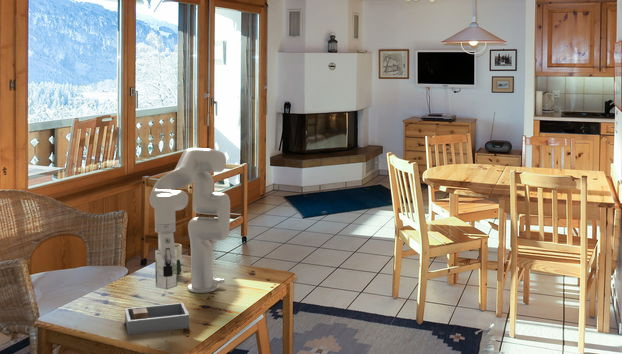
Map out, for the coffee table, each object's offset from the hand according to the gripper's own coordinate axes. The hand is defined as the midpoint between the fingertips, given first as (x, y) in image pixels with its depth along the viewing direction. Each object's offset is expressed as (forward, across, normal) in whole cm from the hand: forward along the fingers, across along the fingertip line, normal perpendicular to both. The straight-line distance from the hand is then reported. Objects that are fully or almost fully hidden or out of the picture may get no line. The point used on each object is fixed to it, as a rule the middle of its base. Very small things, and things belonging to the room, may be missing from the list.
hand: (166, 272), depth 265 cm
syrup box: (+6, 0, 0) cm, 6 cm away
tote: (+20, 0, +4) cm, 20 cm away
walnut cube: (+19, 0, +10) cm, 21 cm away
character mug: (+20, +63, -12) cm, 67 cm away
